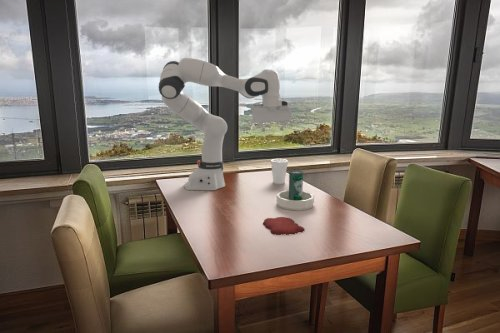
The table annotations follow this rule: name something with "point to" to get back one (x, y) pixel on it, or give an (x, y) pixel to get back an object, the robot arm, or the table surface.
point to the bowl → (295, 205)
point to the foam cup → (279, 170)
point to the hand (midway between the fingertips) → (272, 131)
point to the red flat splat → (282, 226)
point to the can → (295, 185)
